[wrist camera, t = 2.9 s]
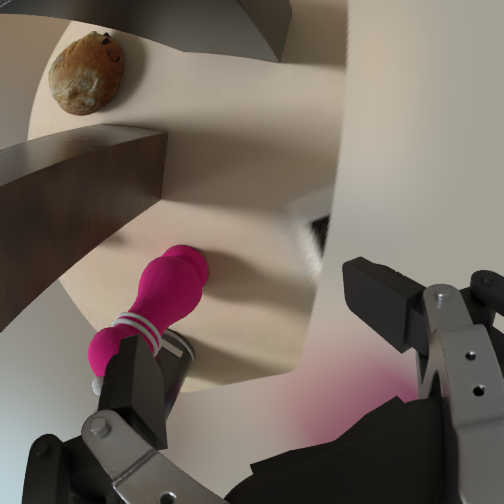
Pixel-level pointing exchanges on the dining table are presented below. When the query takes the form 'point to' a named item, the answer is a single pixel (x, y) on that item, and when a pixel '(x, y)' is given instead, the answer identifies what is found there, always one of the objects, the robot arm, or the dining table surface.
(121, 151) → the plinth
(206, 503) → the robot arm
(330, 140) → the dining table surface
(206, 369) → the dining table surface
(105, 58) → the bread roll
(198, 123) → the dining table surface
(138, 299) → the pepper mill
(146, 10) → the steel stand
